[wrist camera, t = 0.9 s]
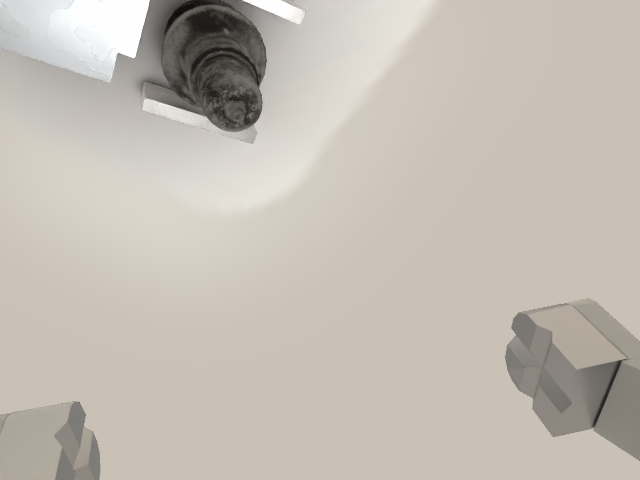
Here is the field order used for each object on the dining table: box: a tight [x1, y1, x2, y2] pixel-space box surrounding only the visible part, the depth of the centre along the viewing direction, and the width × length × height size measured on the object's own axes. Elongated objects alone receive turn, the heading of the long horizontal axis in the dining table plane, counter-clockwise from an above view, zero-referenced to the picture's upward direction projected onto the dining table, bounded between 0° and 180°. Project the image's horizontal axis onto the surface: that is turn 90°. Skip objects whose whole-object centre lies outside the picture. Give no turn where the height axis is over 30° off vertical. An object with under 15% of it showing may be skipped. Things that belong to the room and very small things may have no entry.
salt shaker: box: [161, 0, 267, 132], centre depth 27 cm, size 6×6×12 cm
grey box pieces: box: [0, 0, 305, 144], centre depth 28 cm, size 15×9×4 cm, turn 65°
